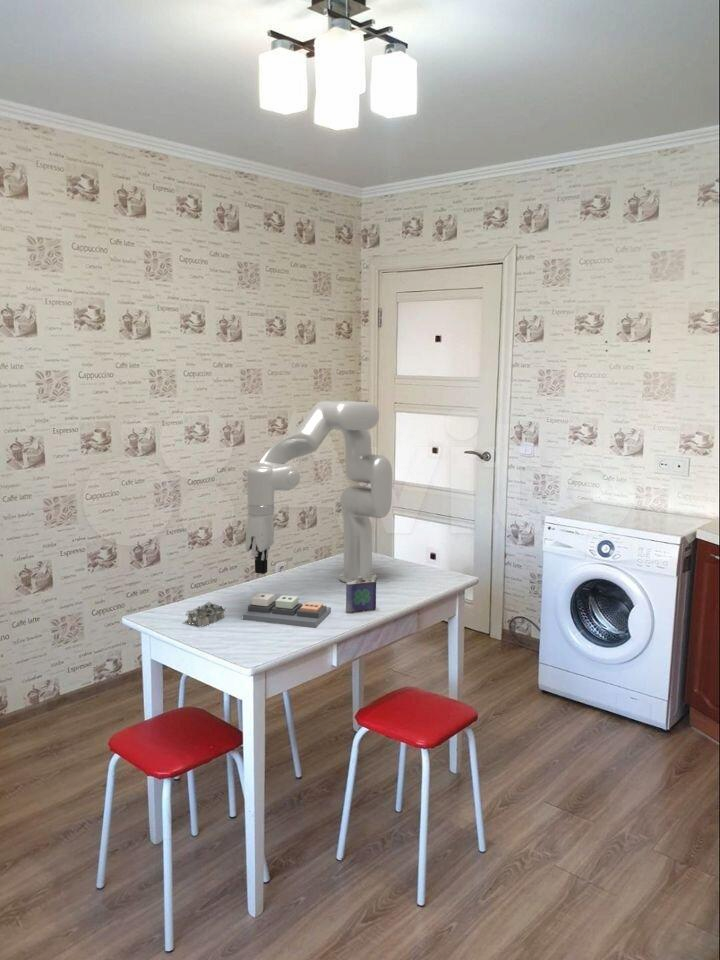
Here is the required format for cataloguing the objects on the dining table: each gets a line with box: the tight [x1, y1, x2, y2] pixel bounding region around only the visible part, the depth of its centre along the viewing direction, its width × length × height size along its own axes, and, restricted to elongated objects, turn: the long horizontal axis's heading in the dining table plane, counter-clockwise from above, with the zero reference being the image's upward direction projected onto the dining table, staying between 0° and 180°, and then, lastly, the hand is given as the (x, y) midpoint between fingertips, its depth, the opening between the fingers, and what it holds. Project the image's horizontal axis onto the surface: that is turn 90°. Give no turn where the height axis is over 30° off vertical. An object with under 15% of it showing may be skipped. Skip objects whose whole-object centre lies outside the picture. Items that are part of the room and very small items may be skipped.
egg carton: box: [184, 601, 227, 627], centre depth 215 cm, size 11×8×4 cm
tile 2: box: [275, 595, 299, 609], centre depth 217 cm, size 5×5×2 cm
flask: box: [345, 575, 377, 614], centre depth 222 cm, size 9×3×11 cm, turn 109°
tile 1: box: [250, 592, 276, 606], centre depth 219 cm, size 5×5×2 cm
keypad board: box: [242, 600, 332, 629], centre depth 218 cm, size 13×22×3 cm, turn 73°
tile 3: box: [300, 602, 324, 613], centre depth 215 cm, size 5×5×2 cm
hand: (261, 572), depth 218 cm, fingers closed
